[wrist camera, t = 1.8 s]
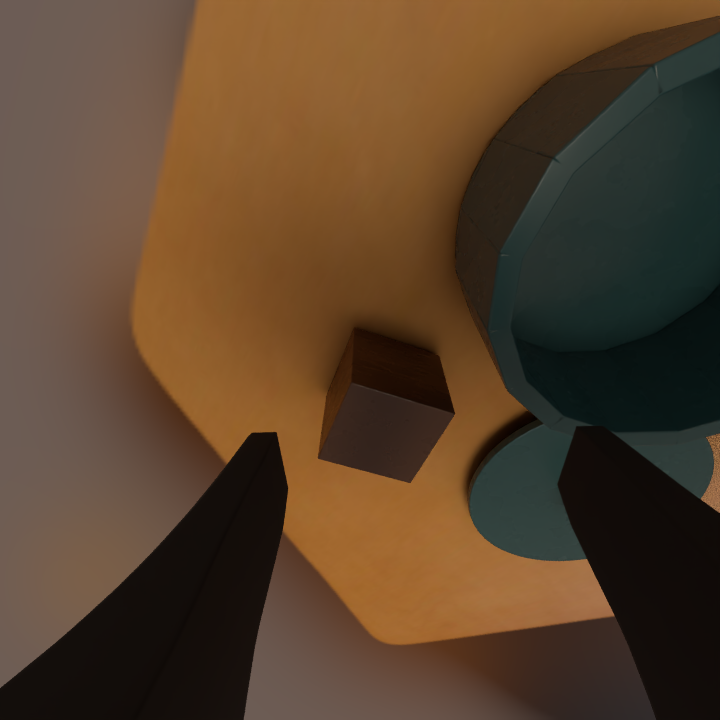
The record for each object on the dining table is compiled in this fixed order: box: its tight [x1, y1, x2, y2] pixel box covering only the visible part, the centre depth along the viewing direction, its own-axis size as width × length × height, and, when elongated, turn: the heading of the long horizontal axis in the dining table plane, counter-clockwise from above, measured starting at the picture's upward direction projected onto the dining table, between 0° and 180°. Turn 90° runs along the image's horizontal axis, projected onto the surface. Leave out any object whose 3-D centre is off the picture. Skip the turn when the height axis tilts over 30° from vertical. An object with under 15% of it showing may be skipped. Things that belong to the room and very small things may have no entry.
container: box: [455, 16, 720, 446], centre depth 14 cm, size 12×12×6 cm
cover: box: [468, 419, 714, 561], centre depth 23 cm, size 13×13×4 cm
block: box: [318, 328, 455, 483], centre depth 19 cm, size 4×4×4 cm
